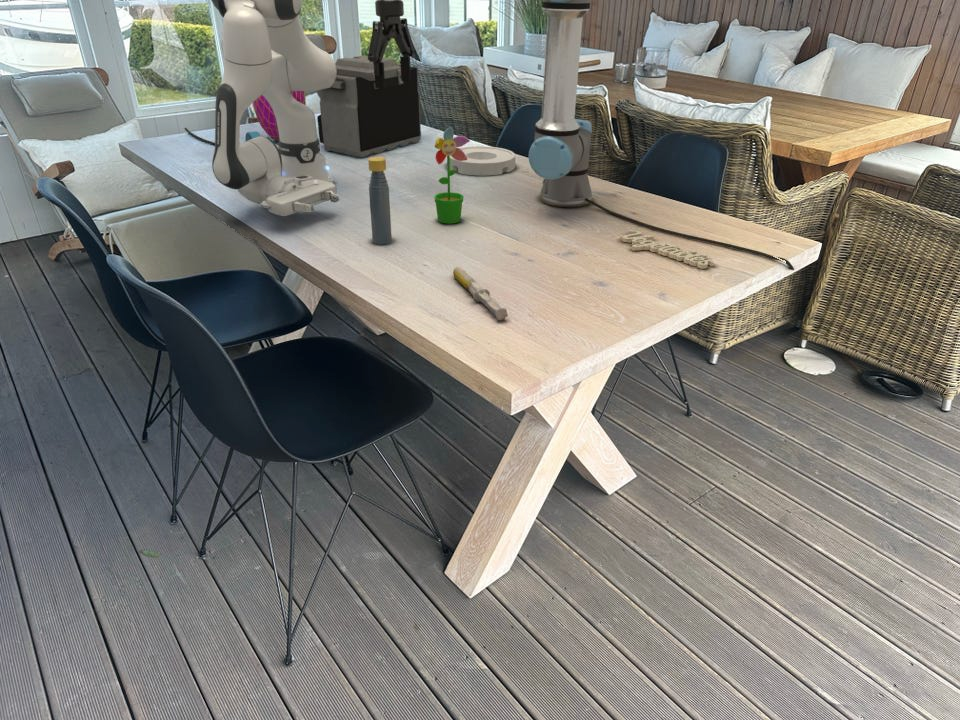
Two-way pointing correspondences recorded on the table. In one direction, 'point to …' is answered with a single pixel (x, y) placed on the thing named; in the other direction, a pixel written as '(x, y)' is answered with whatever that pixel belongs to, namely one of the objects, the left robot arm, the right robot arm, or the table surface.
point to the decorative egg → (272, 113)
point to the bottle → (380, 208)
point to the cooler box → (369, 109)
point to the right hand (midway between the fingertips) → (393, 84)
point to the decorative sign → (666, 249)
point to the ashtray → (484, 161)
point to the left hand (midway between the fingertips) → (324, 203)
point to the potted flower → (449, 201)
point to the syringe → (479, 293)
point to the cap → (377, 163)
